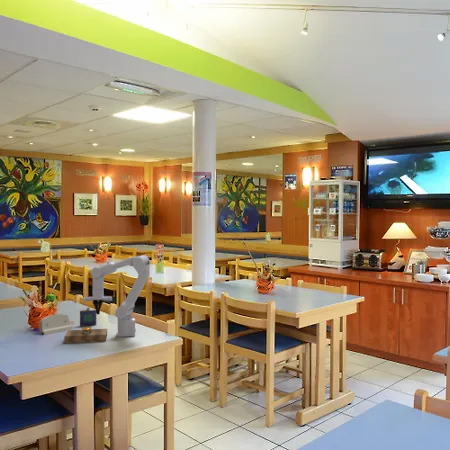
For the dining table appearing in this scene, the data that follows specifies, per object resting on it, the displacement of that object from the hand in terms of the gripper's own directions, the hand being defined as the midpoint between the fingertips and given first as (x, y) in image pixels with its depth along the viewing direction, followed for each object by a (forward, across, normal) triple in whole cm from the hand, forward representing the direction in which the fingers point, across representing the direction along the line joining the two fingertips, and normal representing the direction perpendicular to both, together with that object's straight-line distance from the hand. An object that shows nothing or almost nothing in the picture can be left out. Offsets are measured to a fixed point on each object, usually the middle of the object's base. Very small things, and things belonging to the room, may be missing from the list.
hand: (98, 314), depth 246 cm
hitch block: (+10, +5, +11) cm, 16 cm away
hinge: (+11, +23, -9) cm, 27 cm away
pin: (+10, +5, +12) cm, 16 cm away
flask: (+11, +7, -18) cm, 22 cm away
